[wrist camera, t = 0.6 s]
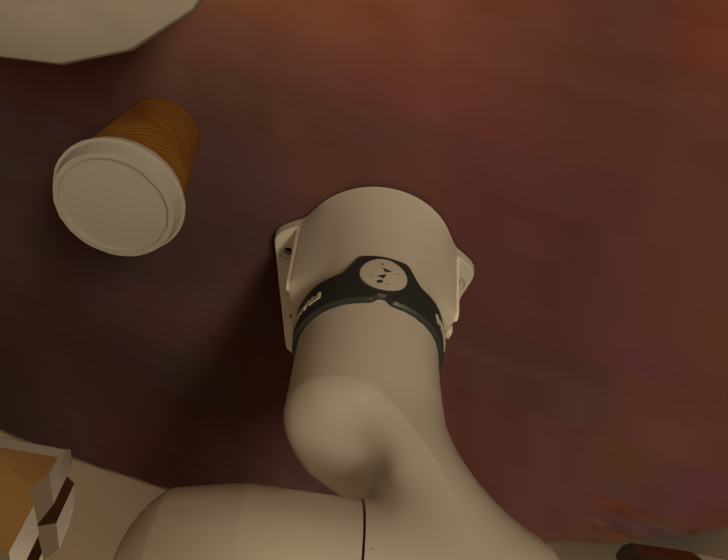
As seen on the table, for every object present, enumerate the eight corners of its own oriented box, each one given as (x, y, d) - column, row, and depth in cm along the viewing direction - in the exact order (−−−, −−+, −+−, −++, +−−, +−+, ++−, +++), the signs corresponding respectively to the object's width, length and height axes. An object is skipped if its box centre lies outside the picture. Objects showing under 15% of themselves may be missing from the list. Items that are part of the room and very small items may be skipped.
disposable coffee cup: (89, 145, 60) (28, 220, 50) (131, 55, 55) (71, 120, 45) (189, 200, 63) (149, 281, 53) (237, 120, 58) (202, 194, 48)
